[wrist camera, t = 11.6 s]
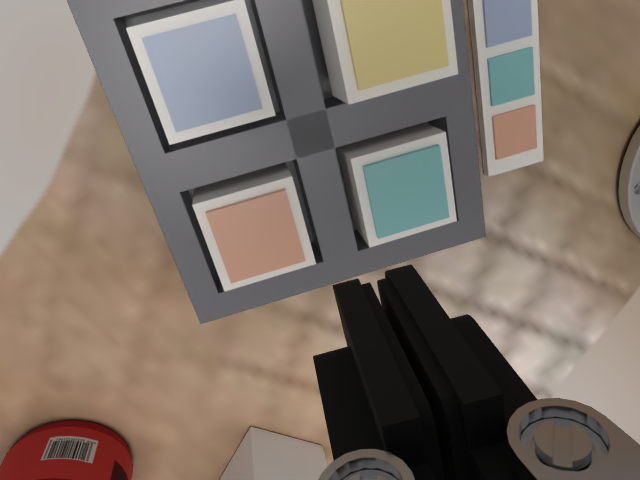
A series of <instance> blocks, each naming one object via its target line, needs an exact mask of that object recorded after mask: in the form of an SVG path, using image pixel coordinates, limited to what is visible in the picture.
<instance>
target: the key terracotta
mask: <svg viewBox="0 0 640 480" xmlns="http://www.w3.org/2000/svg"><path fill="white" fill-rule="evenodd" d="M192 206H193V209H194V211H195V214H196V217H197V219H198V222H199V225H200V227H201V230H202V233H203V235H204V238H205V241H206V243H207V246H208V249H209V251H210V254H211V257H212V259H213V262H214V265H215V267H216V270H217V273H218V275H219V278H220V281H221V283H222V286H223V289H224V291H229V290H232V289H235V288H238V287H242V286H245V285H248V284H252V283H255V282H258V281H262V280H265V279H268V278H271V277H275V276H278V275H281V274H285V273H288V272H291V271H294V270H298V269H301V268H304V267H308V266H311V265H314V264H316V262H315V258H314V255H313V251H312V247H311V244H310V240H309V236H308V233H307V229H306V225H305V222H304V218H303V214H302V211H301V207H300V203H299V199H298V196H297V192H296V188H295V185H294V181H293V177H292V175H291V173H290V171H289V169H288V167H287V165H286V163H285V162H284V163H281V164H277V165H274V166H270V167H267V168H263V169H260V170H256V171H253V172H249V173H246V174H242V175H239V176H235V177H232V178H228V179H225V180H221V181H218V182H214V183H211V184H207V185H204V186H200V187H197V188H195V189H194V195H193V202H192Z"/></svg>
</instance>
